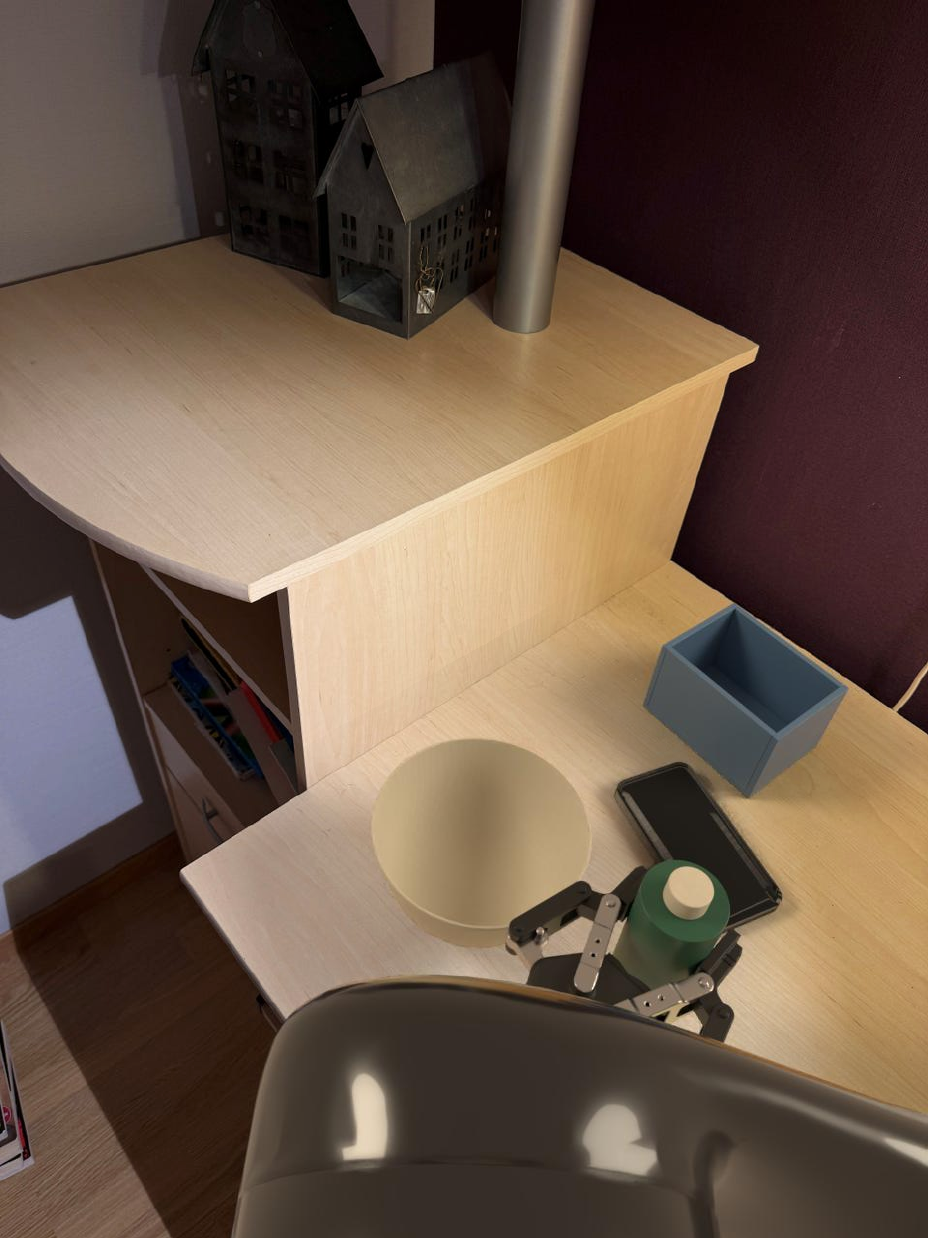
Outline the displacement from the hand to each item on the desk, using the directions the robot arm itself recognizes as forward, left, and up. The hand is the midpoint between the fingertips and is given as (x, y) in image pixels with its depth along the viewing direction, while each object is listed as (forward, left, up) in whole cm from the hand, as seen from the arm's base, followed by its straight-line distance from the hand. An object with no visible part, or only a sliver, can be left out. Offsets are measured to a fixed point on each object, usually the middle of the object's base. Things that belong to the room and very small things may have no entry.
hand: (692, 905), depth 57 cm
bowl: (+14, +5, -15) cm, 22 cm away
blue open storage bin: (+14, -26, -15) cm, 33 cm away
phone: (+7, -13, -15) cm, 21 cm away
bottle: (0, +3, -7) cm, 7 cm away
